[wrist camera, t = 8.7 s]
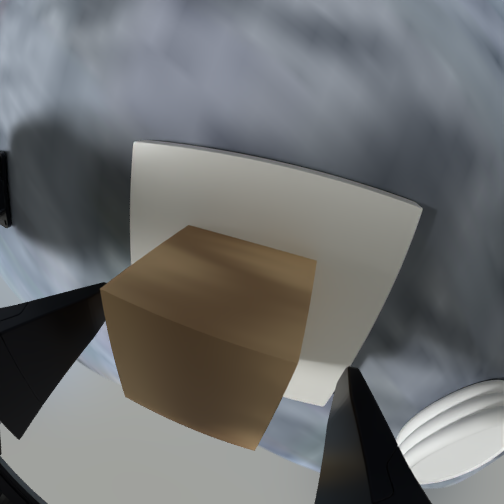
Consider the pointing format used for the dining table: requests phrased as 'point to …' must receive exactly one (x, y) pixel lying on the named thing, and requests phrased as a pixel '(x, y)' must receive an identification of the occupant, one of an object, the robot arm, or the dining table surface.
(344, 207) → the white board
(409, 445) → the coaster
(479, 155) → the dining table surface
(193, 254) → the oak cube
